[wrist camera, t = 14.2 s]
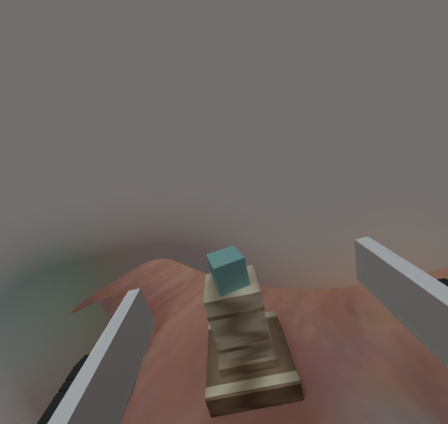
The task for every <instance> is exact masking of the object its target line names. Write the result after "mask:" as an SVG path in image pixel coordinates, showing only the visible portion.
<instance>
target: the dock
mask: <svg viewBox="0 0 448 424" xmlns="http://www.w3.org/2000/svg"><path fill="white" fill-rule="evenodd" d="M265 316H266V319H267V322H268V326H269V329H270V333H271V336H272V340H273V343H274V347H275V350H276V354H277V357H278V361H279V367H276V368H271V369H265V370H260V371H255V372H250V373H244V374H239V375H234V376H229V377H223V378H221V376H220V373H219V354H218V351H217V346H216V343H215V340H214V336H213V333H212V330H211V326H210V324H209V326H208V330H209V337H208V359H207V382H206V390H205V399H206V404H207V407H208V410H209V412H210V415H211V417H214V416H220V415H225V414H231V413H236V412H241V411H247V410H252V409H258V408H263V407H268V406H274V405H279V404H285V403H290V402H296V401H301V400H303V394H302V387H301V382H300V378H299V376H298V373H297V370H296V368H295V365H294V362H293V360H292V357H291V354H290V351H289V348H288V345H287V343H286V340H285V337H284V334H283V331H282V329H281V326H280V323H279V320H278V317H277V314H276V311H270V312H265Z"/></svg>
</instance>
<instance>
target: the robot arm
mask: <svg viewBox="0 0 448 424" xmlns="http://www.w3.org/2000/svg"><path fill="white" fill-rule="evenodd" d="M355 254H356V271H357V279H358V280H359V281H360V282H361V283H362V284H363V285H364V286H365V287H366V288H367V289H368V290H369V291H370V292H371V293H372V294H373V295H374V296H375V297H376V298H377V299H378V300H379V301H380V302H381V303H382V304H383V305H384V306H385V307H386V308H387V309H388V310H389V311H390V312H391V313H392V314H393V315H394V316H395V317H396V318H397V319H398V320H399V321H400V322H401V323H402V324H403V325H404V326H406V327H407V328H408V329H409V330H410V331H411V332H412V333H413V334H414V335H415V336H416V337H417V338H418V339H419V340H420V341H421V342H422V343H423V344H424V345H425V346H426V347H427V348H428V349H429V350H430V351H431V352H432V353H433V354H434V355H435V356H436V357H437V358H438V359H439V360H440V361H441V362H442V363H443V364H444V365H445V366H446V367H447V368H448V279H446V278H443V279H438V280H436V279H435V278H433V277H431V276H430V275H428V274H427V273H425V272H424V271H422V270H420V269H419V268H417V267H416V266H414V265H412V264H411V263H409V262H408V261H406V260H404V259H403V258H401V257H400V256H398V255H396V254H395V253H393V252H392V251H390V250H388V249H387V248H385V247H383V246H382V245H381V244H379V243H377V242H376V241H374V240H373V239H371V238H369V237H364V238H360V239H356V240H355ZM154 325H155V320H154V318H153V316H152V314H151V311H150V309H149V307H148V305H147V302H146V300H145V298H144V296H143V293H142V291H141V289H135V290H131V291H128V293H127V294H126V296H125V297H124V299H123V301H122V302H121V304H120V306H119V307H118V309H117V311H116V312H115V314H114V315H113V317H112V319H111V320H110V322H109V324H108V325H107V327H106V329H105V330H104V332H103V333H102V335H101V337H100V338H99V340H98V342H97V343H96V345H95V347H94V348H93V350H92V352H91V353H90V354H89V355H85V356H84V357H83V358H82V359H81V360H80V361H79V362H78V363H77V364H76V366H74V368H73V369H72V371H71V372H70V374H69V375H68V377H67V378H66V381H65V382H64V383H63V385H62V386H61V388H60V389H59V393H57V394H56V395H55V397H54V398H53V400H52V402H51V403H50V405H49V406H48V408H47V409H46V411H45V412H44V414H43V415H42V417H41V419H40V420H39V422H38V423H37V424H120V421H121V419H122V416H123V413H124V410H125V407H126V404H127V402H128V399H129V396H130V393H131V390H132V387H133V385H134V382H135V379H136V376H137V373H138V370H139V368H140V365H141V362H142V359H143V356H144V354H145V351H146V348H147V345H148V342H149V339H150V337H151V334H152V331H153V328H154Z"/></svg>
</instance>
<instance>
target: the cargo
mask: <svg viewBox="0 0 448 424" xmlns="http://www.w3.org/2000/svg"><path fill="white" fill-rule="evenodd" d="M206 256H207V260H208V263H209V267H210V271H211V274H212V278H213V281H214V283H215V285H216V288H217V290H218V292H219V294H220V296H224V295H226V294H229V293H231V292H234V291H237V290H239V289H242V288H244V287H247V286H249V285H250V281H249V277H248V272H247V267H246V263H245V258H244V257H243V256H242V254H241V253H240V252H239V251H238V250H237V249H236V247H235V246H230V247H227V248H224V249H222V250H218V251H215V252H213V253H210V254H207V255H206Z"/></svg>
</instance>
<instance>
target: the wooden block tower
mask: <svg viewBox="0 0 448 424" xmlns="http://www.w3.org/2000/svg"><path fill="white" fill-rule="evenodd" d="M246 267H247V272H248V277H249V281H250V285H249V286H247V287H244V288H242V289H239V290H237V291H234V292H231V293H229V294H226V295H224V296H220V294H219V292H218V290H217V288H216V285H215V283H214V281H213V278H212V274H206V281H205V292H204V306H205V310H206V313H207V316H208V317H207V318H208V321H209V323H210V326H211V330H212V333H213V336H214V340H215V343H216V346H217V351H218V354H219V373H220V376H221V378H223V377H229V376H234V375H239V374H244V373H250V372H255V371H260V370H265V369H271V368H276V367H279V361H278V357H277V354H276V350H275V347H274V343H273V340H272V336H271V333H270V329H269V326H268V322H267V319H266V316H265V309H264V305H263V301H262V296H261V291H260V288H259V285H258V282H257V278H256V275H255V271H254V268H253V265H249V266H246Z"/></svg>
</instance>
